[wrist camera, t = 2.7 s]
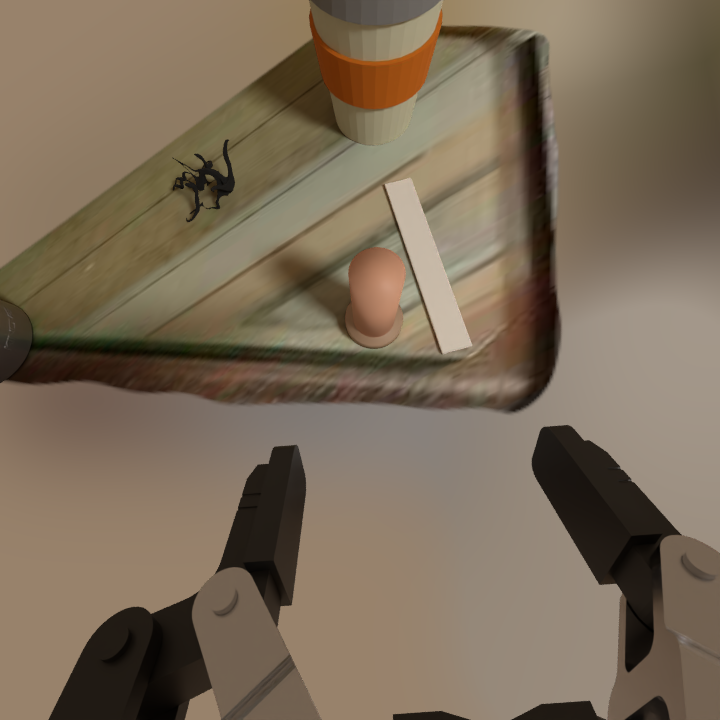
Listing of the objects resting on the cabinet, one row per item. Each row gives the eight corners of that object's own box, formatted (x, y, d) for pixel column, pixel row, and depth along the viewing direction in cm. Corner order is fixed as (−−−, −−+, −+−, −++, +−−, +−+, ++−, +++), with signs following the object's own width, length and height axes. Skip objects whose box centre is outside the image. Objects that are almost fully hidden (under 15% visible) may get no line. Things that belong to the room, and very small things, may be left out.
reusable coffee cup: (343, 172, 36) (328, -3, 22) (305, 92, 39) (269, -112, 25) (444, 137, 37) (494, -55, 23) (400, 61, 40) (420, -154, 25)
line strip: (442, 354, 31) (442, 353, 31) (384, 186, 36) (384, 184, 36) (471, 346, 32) (472, 345, 31) (410, 179, 36) (410, 177, 36)
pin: (353, 355, 32) (348, 319, 22) (339, 303, 33) (328, 248, 23) (408, 340, 32) (427, 298, 22) (392, 289, 33) (403, 229, 23)
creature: (176, 228, 37) (237, 226, 34) (134, 193, 32) (202, 189, 29) (194, 171, 38) (253, 166, 36) (157, 129, 33) (222, 120, 31)
